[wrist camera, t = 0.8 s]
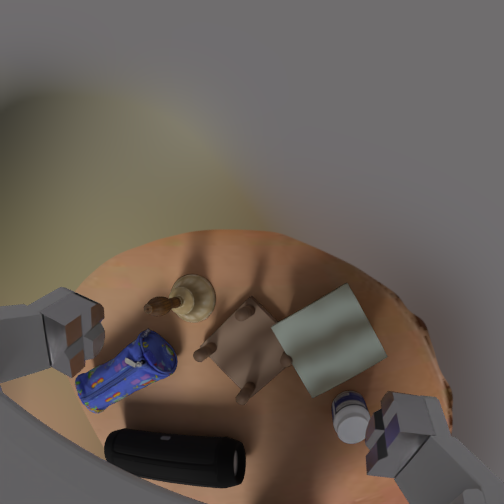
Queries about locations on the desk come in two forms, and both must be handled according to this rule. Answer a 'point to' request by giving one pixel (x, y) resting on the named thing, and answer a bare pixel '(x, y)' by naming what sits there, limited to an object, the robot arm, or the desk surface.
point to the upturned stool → (246, 349)
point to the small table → (329, 341)
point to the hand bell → (186, 300)
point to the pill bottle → (350, 417)
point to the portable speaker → (178, 457)
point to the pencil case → (127, 372)
